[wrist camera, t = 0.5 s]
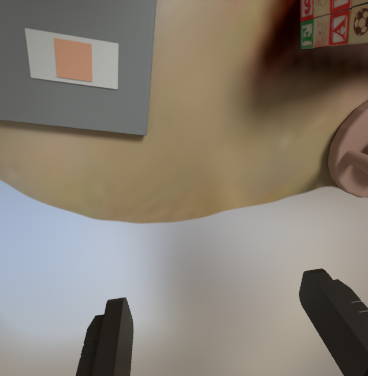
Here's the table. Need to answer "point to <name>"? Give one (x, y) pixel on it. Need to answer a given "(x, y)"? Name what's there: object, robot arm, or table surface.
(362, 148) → the hourglass
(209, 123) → the table surface
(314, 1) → the stack of blocks
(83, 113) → the board
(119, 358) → the robot arm
